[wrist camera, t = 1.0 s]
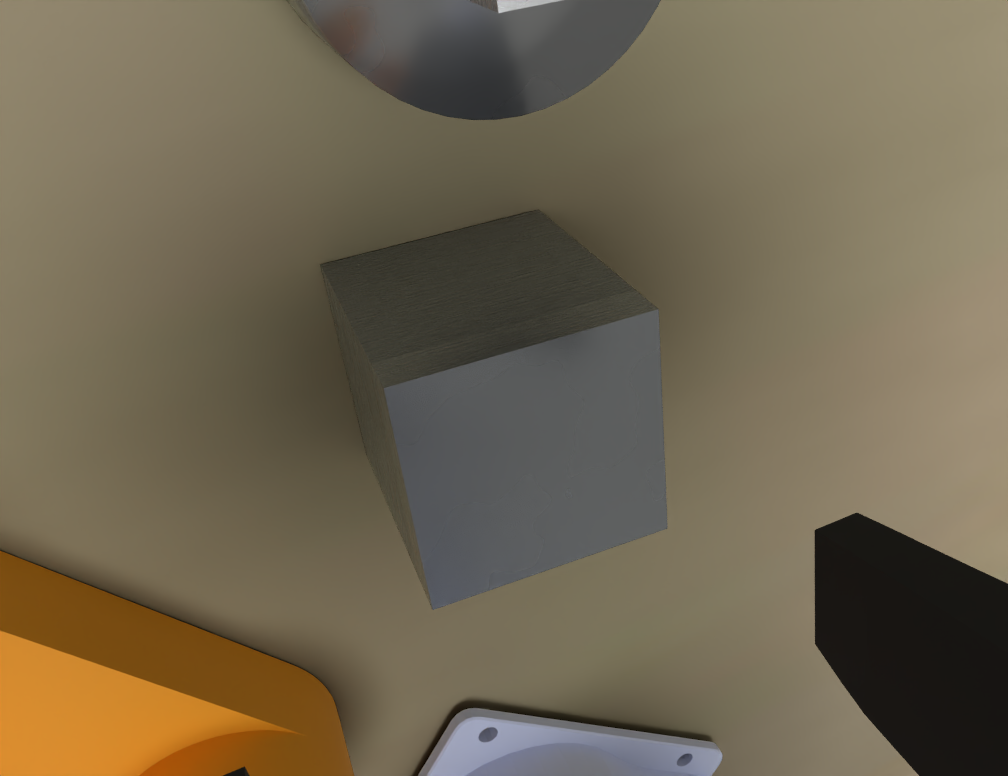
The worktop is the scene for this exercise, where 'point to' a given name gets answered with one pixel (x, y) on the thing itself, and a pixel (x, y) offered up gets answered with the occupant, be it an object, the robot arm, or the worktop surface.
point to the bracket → (146, 692)
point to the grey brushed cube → (503, 400)
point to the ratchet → (478, 48)
